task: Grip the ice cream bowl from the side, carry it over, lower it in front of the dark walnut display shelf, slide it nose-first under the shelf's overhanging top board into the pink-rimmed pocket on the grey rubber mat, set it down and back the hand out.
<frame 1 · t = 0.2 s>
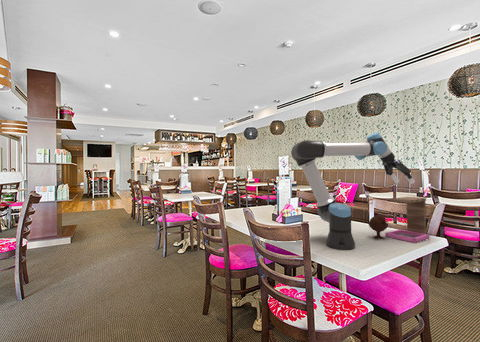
hand: (404, 182, 151), 34 cm above the table, tool tilted 35°, fingers open, 13 cm apart
display shelf: (409, 217, 151), in the seat plate
ice cream bowl: (378, 238, 151), on the table
seat plate: (407, 237, 151), on the table
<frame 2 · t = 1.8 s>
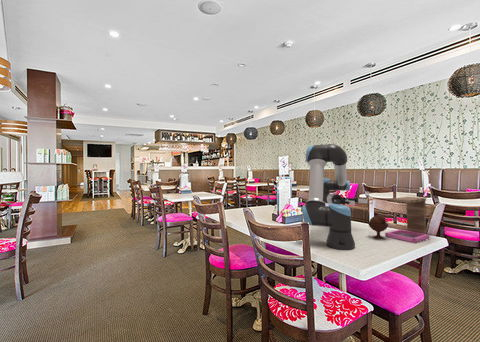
hand: (360, 202, 162), 21 cm above the table, tool horizontal, fingers open, 13 cm apart
nothing on the table moved.
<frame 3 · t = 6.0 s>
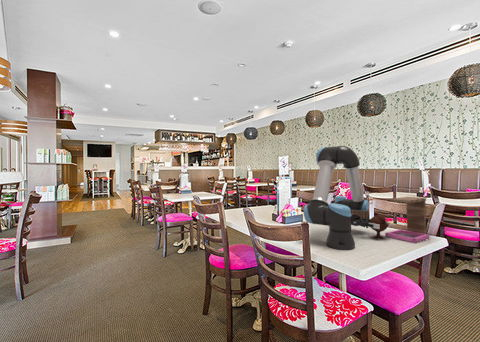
hand: (384, 225, 148), 8 cm above the table, tool horizontal, fingers closed on ice cream bowl, 11 cm apart
ice cream bowl: (378, 238, 151), on the table, touching gripper
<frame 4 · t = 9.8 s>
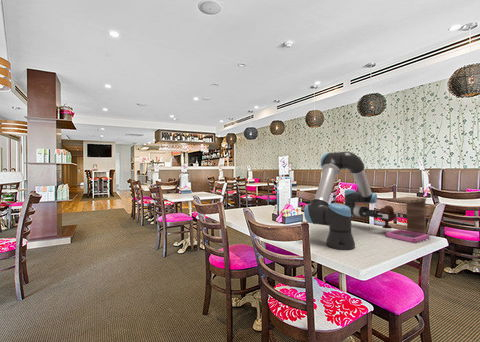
hand: (392, 215, 158), 12 cm above the table, tool horizontal, fingers closed on ice cream bowl, 11 cm apart
ice cream bowl: (386, 227, 162), point 4 cm above the table, touching gripper
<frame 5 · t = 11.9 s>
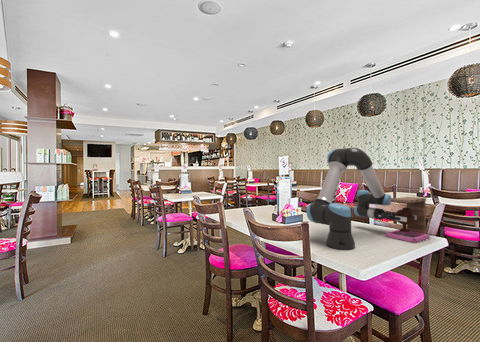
hand: (411, 218, 148), 12 cm above the table, tool horizontal, fingers closed on ice cream bowl, 11 cm apart
ice cream bowl: (404, 231, 152), point 4 cm above the table, touching gripper
when the fingers open (10 cm above the table, at t = 13.9 s): ice cream bowl stays where it is, resting on seat plate.
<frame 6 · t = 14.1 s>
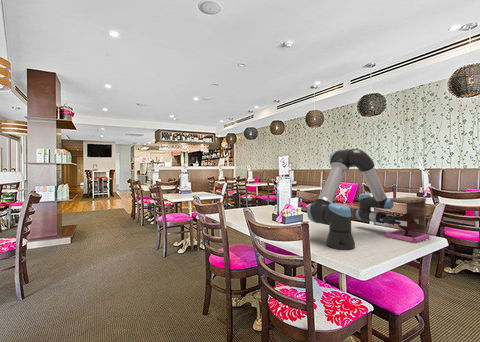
hand: (412, 222, 148), 10 cm above the table, tool horizontal, fingers open, 13 cm apart
ice cream bowl: (406, 237, 151), resting on seat plate
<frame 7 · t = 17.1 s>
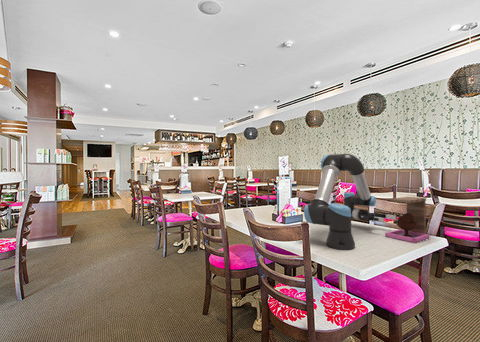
hand: (390, 219, 159), 10 cm above the table, tool horizontal, fingers open, 13 cm apart
nothing on the table moved.
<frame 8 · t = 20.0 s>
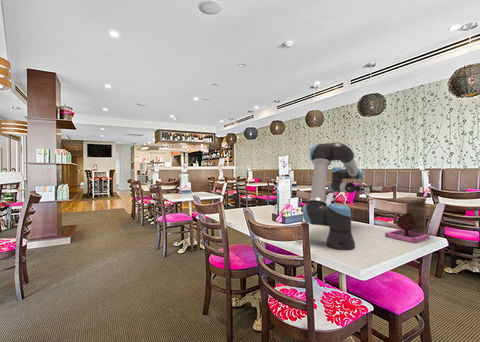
hand: (375, 189, 162), 30 cm above the table, tool horizontal, fingers open, 13 cm apart
nothing on the table moved.
at the end: ice cream bowl 0.1 cm off-centre on the seat plate, point 0.3 cm above the seat plate's base; ice cream bowl tilted 0°; the gripper is holding nothing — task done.
